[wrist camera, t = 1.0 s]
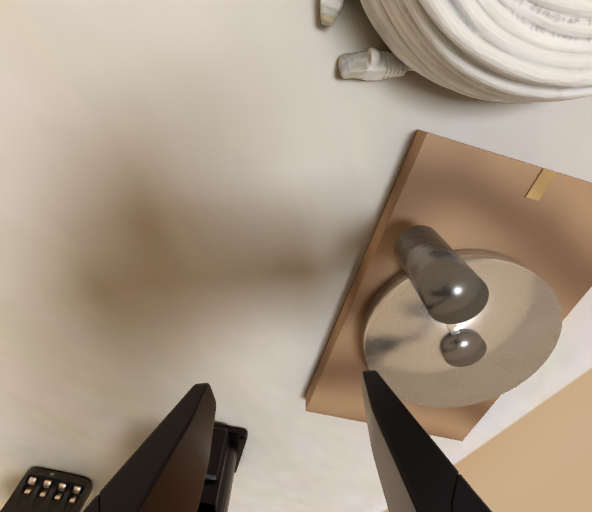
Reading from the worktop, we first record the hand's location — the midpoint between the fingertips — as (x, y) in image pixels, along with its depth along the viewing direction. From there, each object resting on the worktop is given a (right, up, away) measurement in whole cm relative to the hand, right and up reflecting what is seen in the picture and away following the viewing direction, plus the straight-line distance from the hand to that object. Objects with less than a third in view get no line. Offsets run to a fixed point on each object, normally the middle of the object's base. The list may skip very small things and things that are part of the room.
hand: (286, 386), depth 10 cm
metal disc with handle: (+10, 0, +11) cm, 15 cm away
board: (+11, 0, +14) cm, 17 cm away
